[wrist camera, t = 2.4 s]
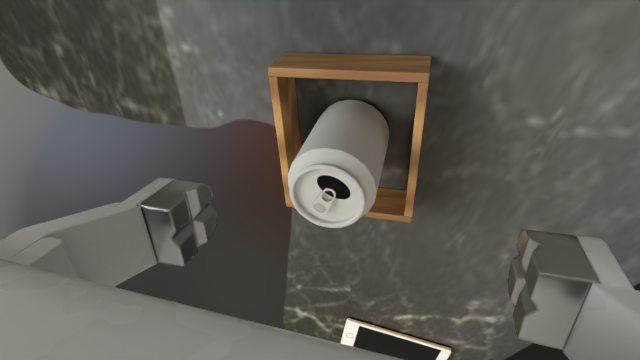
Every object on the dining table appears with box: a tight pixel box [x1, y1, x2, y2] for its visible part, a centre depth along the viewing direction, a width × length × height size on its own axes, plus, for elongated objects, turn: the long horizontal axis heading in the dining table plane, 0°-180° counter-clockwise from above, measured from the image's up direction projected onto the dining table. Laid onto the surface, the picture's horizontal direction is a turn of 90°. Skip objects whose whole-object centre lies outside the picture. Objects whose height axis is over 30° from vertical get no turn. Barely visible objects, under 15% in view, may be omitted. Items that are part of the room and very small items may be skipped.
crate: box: [268, 53, 431, 223], centre depth 36 cm, size 16×14×4 cm
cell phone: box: [341, 318, 451, 360], centre depth 58 cm, size 8×16×1 cm, turn 84°
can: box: [288, 100, 390, 228], centre depth 33 cm, size 8×8×12 cm
